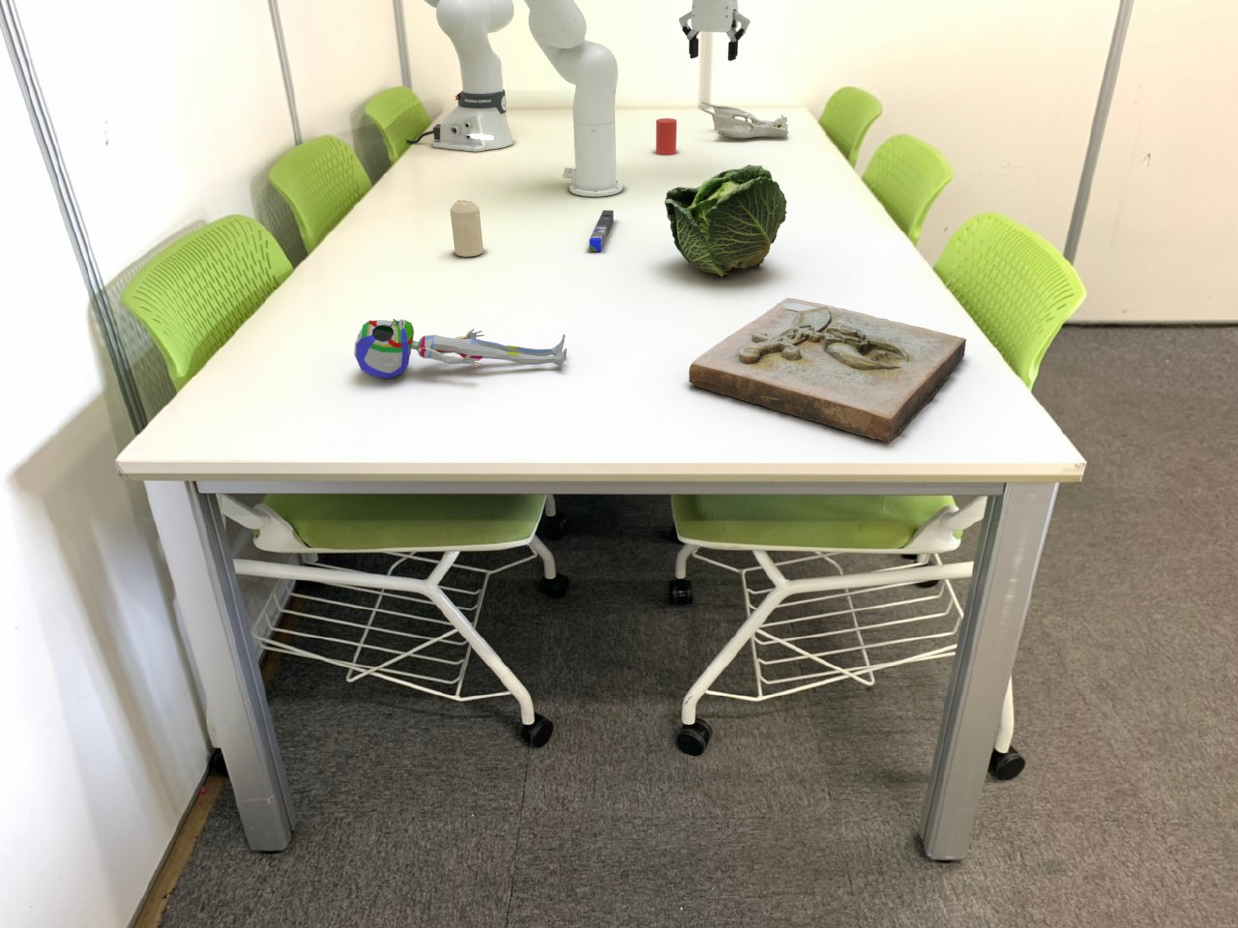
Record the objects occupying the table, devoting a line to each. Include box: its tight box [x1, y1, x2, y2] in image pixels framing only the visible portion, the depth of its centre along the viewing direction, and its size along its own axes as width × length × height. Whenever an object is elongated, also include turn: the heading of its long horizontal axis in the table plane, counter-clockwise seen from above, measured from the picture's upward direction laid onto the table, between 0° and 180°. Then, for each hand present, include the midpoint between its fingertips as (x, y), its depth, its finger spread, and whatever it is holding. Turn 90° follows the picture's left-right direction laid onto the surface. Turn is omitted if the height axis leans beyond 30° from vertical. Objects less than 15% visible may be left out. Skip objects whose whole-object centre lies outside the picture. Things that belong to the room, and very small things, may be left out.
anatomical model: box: [700, 101, 789, 140], centre depth 253 cm, size 15×9×25 cm
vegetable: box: [664, 164, 788, 278], centre depth 161 cm, size 20×19×20 cm
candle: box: [449, 199, 484, 258], centre depth 172 cm, size 6×6×10 cm
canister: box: [655, 117, 678, 156], centre depth 240 cm, size 5×5×8 cm
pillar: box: [588, 209, 615, 252], centre depth 182 cm, size 2×2×20 cm
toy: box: [353, 318, 568, 379], centre depth 130 cm, size 10×8×30 cm
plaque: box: [688, 297, 967, 444], centre depth 127 cm, size 30×7×30 cm
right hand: (712, 59), depth 209 cm, fingers open, 9 cm apart
